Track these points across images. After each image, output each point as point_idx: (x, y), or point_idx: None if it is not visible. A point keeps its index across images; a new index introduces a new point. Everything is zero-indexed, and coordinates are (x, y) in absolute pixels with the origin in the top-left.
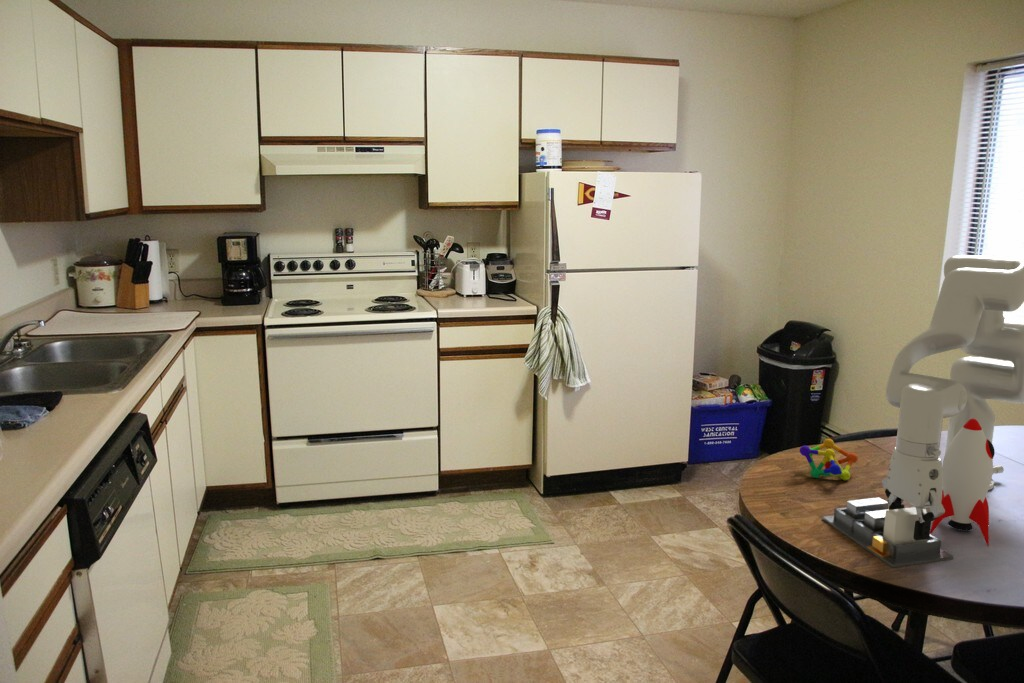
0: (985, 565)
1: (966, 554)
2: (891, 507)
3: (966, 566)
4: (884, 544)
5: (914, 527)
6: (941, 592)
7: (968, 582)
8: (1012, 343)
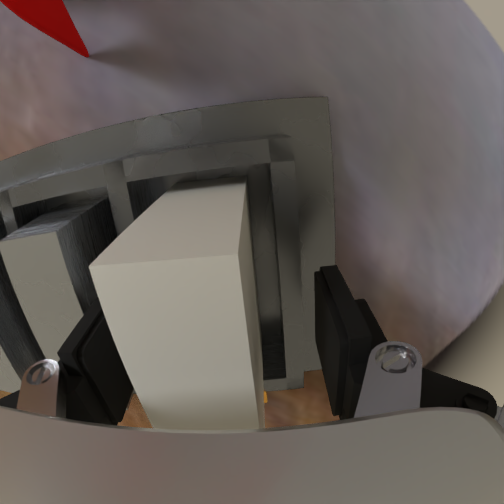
0: (389, 15)
1: (290, 11)
2: (114, 422)
3: (388, 92)
4: (266, 394)
5: (254, 322)
6: (475, 303)
7: (473, 184)
8: None
